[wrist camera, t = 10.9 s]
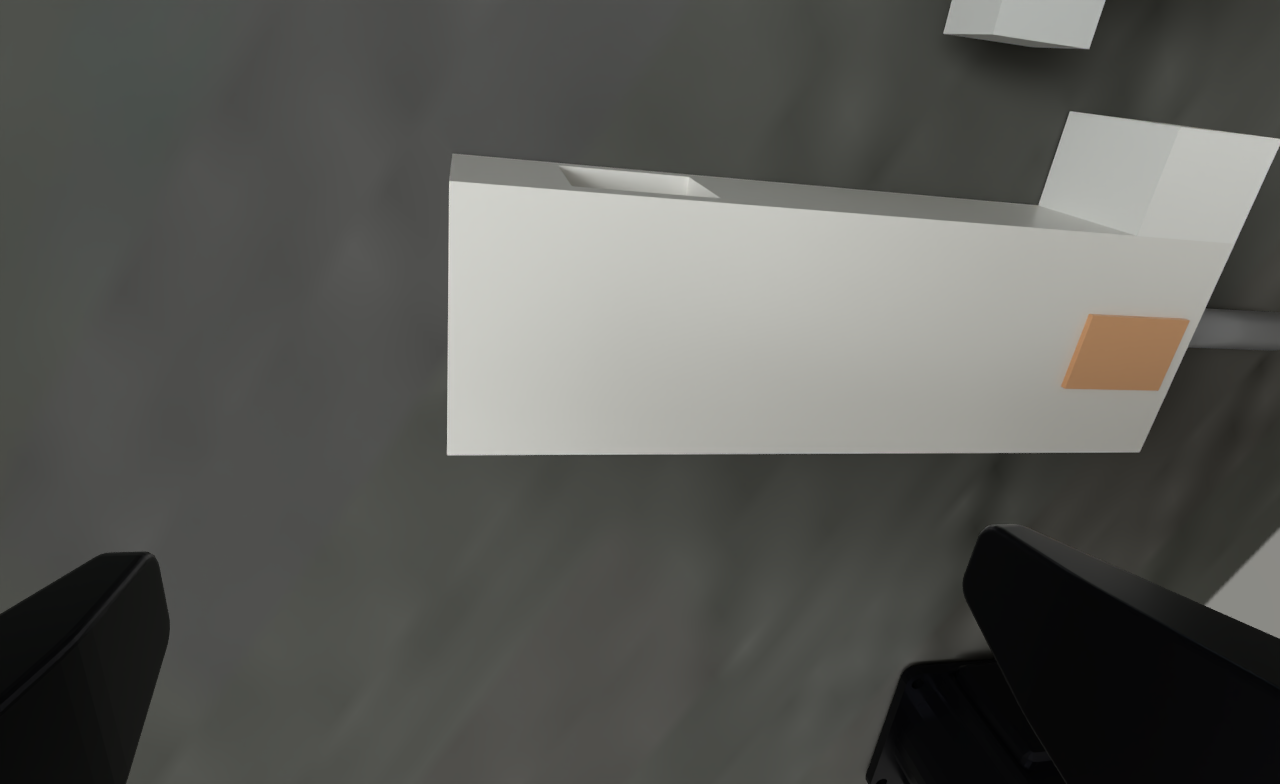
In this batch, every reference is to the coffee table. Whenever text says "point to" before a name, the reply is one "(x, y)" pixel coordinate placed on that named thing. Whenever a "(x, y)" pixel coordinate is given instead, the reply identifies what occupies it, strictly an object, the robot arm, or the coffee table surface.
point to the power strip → (842, 304)
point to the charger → (1026, 21)
